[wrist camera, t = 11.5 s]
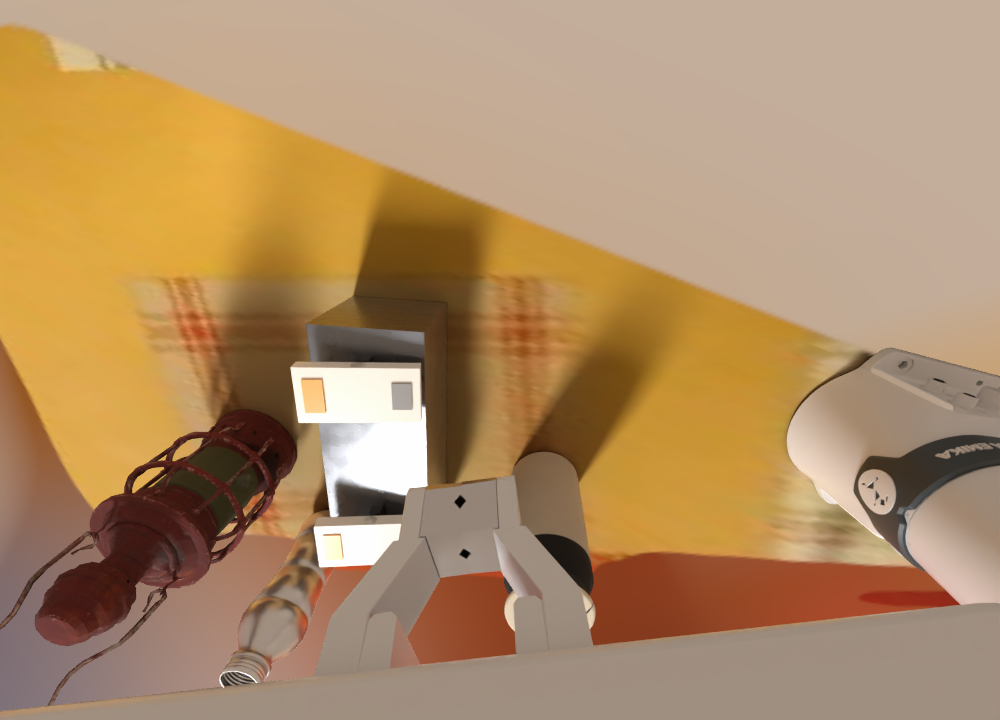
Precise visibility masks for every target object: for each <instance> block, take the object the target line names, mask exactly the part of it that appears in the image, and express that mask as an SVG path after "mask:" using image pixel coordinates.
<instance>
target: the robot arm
mask: <svg viewBox="0 0 1000 720" xmlns="http://www.w3.org/2000/svg"><path fill="white" fill-rule="evenodd" d="M900 362H902V363H901V364H900V365H899V363H900ZM898 365H899V366H898ZM787 448H788V452H789V455H790V458H791V460H792V461H793V463H794V464H795V466H796V467H797V468H798V469H799V470H800V471H801V472H802V473H804V474H805V475H806V476H808V477H809V478H810V479H811V480H812V481H813V482H814V485H815V487H816V490H817V492H818V494H819V495H820V496H821V497H822V498H823V499H824V500H825V501H826V502H828V503H830V504H839V505H840V506H841V507H842V508H844V509H845V510H846V511H847V512H848V513H850V514H851V515H852V516H853V517H854V518H855V519H857V520H858V521H859V522H860V523H861V524H863V525H864V526H865V527H866V528H867V529H869V530H870V531H871V532H872V533H873V534H875V535H876V536H878V537H880V538H883V539H885V540H886V541H887V542H889V545H890V546H891V547H892V548H893V549H894V550H895V551H896V552H897V553H898V554H900V555H901V556H902V557H905V558H906V559H907V560H908V561H909V562H910V563H911V564H913V565H914V566H915V567H917V568H919V569H920V570H923V571H925V572H927V573H929V574H930V575H931V576H932V577H933V578H934V579H935V580H936V581H937V582H938V583H939V584H940V585H941V586H942V587H943V588H944V589H945V590H946V591H947V592H948V593H949V594H950V595H951V596H952V597H953V598H954V599H956V600H957V601H958V602H959V603H960V604H961V605H955V606H947V607H938V608H929V609H920V610H911V611H902V612H893V613H883V614H875V615H865V616H856V617H847V618H838V619H830V620H821V621H812V622H802V623H794V624H786V625H775V626H766V627H758V628H748V629H740V630H730V631H722V632H713V633H704V634H695V635H686V636H678V637H668V638H659V639H650V640H641V641H632V642H623V643H614V644H605V645H596V646H593V643H592V638H591V633H590V628H589V624H588V619H587V614H586V610H585V605H584V600H583V595H582V591H581V588H580V587H579V586H578V585H577V584H576V583H575V582H574V580H573V579H572V578H571V577H570V576H569V575H568V574H567V572H566V571H565V570H564V569H563V568H562V567H561V566H560V565H559V563H558V562H557V561H556V560H555V559H554V558H553V557H552V555H551V554H550V553H549V552H548V551H547V550H546V549H545V547H544V546H543V545H542V544H541V543H540V542H539V541H538V539H537V538H536V537H535V536H534V535H533V534H532V533H531V532H530V530H529V529H528V528H527V527H526V526H522V525H521V517H520V510H519V503H518V495H517V488H516V481H515V476H514V475H513V476H505V477H497V478H496V477H495V478H488V479H480V480H472V481H465V482H462V483H451V484H440V485H430V486H421V487H412V488H409V489H408V491H407V493H406V499H405V505H404V511H403V516H402V522H401V528H400V534H399V540H396V541H393V542H392V543H391V544H390V545H389V547H388V548H387V549H386V550H385V552H384V553H383V554H382V555H381V556H380V558H379V559H378V560H377V561H376V563H375V564H374V565H373V566H372V567H371V569H370V570H369V571H368V572H367V573H366V575H365V576H364V577H363V578H362V580H361V581H360V582H359V583H358V584H357V586H356V587H355V588H354V589H353V591H352V592H351V593H350V594H349V595H348V597H347V598H346V599H345V600H344V601H343V603H342V604H341V605H340V606H339V608H338V609H337V610H336V611H335V613H334V614H333V615H332V616H331V618H330V622H329V625H328V629H327V633H326V636H325V640H324V644H323V647H322V651H321V654H320V658H319V662H318V665H317V669H316V673H315V676H314V677H306V678H297V679H288V680H279V681H270V682H261V683H252V684H243V685H234V686H225V687H216V688H207V689H198V690H189V691H180V692H171V693H162V694H153V695H144V696H135V697H126V698H117V699H108V700H98V701H90V702H80V703H71V704H63V705H53V706H44V707H35V708H26V709H17V710H7V711H0V720H1000V376H997V375H993V374H989V373H986V372H982V371H978V370H974V369H971V368H967V367H963V366H959V365H956V364H951V363H947V362H944V361H940V360H936V359H933V358H929V357H925V356H921V355H918V354H914V353H910V352H906V351H903V350H898V349H895V348H886V349H884V350H881V351H879V352H878V353H876V354H875V355H874V356H872V357H871V358H870V359H869V360H867V361H866V362H865V363H864V364H863V365H862V366H860V367H859V368H857V369H856V370H854V371H851V372H849V373H847V374H844V375H842V376H840V377H837V378H835V379H833V380H831V381H830V382H828V383H826V384H825V385H823V386H821V387H820V388H819V389H817V390H816V391H815V392H814V393H812V394H811V395H810V396H809V397H808V398H807V399H806V400H805V401H804V402H803V403H802V405H801V406H800V407H799V409H798V410H797V412H796V413H795V415H794V417H793V419H792V421H791V423H790V426H789V429H788V434H787ZM492 571H501V572H502V574H503V575H504V577H505V578H506V580H507V581H508V583H509V584H510V586H511V587H512V589H513V590H514V592H515V593H516V595H517V596H518V598H517V599H516V601H515V602H514V603H513V606H514V623H515V638H516V654H514V655H505V656H495V657H487V658H478V659H468V660H459V661H450V662H441V663H432V664H424V665H420V663H419V661H418V659H417V657H416V655H415V653H414V651H413V649H412V647H411V645H410V643H409V641H408V639H407V636H408V634H409V633H410V631H411V629H412V627H413V626H414V624H415V622H416V620H417V619H418V617H419V615H420V614H421V612H422V610H423V608H424V607H425V605H426V603H427V601H428V600H429V598H430V596H431V594H432V593H433V591H434V589H435V587H436V586H437V584H438V582H439V580H440V579H439V578H442V577H448V576H456V575H463V574H470V573H481V572H492Z"/></svg>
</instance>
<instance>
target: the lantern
mask: <svg viewBox="0 0 1000 720" xmlns="http://www.w3.org/2000/svg"><path fill="white" fill-rule="evenodd" d="M195 438H204V439H203V440H202V444H201V446H200V447H199V449H198V450H196V451H195V452H194V453H192V454H191V455H190V456H187V457H184V458H181V459H178V460H177V461H172V458H173V455H174V453H175V451H176V450H177V449H178V448H179V447H180V446H181V445H182V444H184V443H185V442H186V441H187V440H190V439H195ZM166 454H167V457H166V460H165V461H158V460H159V459H161V458H162V457H164V456H165V455H166ZM295 461H296V449H295V445H294V441H293V440H292V438H291V436H290V435H289V433H288V431H287V430H286V429H285V428H284V427H283V426H282V425H281V424H279V423H278V422H277V421H276V420H274V419H273V418H272V417H269V416H267V415H265V414H262V413H260V412H256V411H250V410H237V411H233V412H231V413H228V414H226V415H224V416H223V417H221V418H220V419H219V421H218V422H217V423H216V424H215V426H213V427H211V430H209V431H208V432H192V433H189V434H187V435H185V436H183V437H180V438H179V439H177V440H176V441H175V442H174V444H173V445H172V446H171V447H169V448H168V449H166V450H165V451H164V452H162V453H161V454H159V455H158V456H156V457H155V458H153V459H152V460H151V461H149V462H148V463H146V464H144V465H142V466H139V467H137V468H136V469H135V470H134V471H133V472H132V473H131V474H130V475H129V476H128V478H127V481H126V484H125V487H124V493H123V494H119V495H115V496H111V497H110V498H108V499H106V500H105V501H103V502H101V503H100V504H99V505H98V506H97V508H96V509H95V510H94V511H93V513H92V516H91V519H90V531H91V532H89V531H87V532H86V533H84V534H83V535H82V536H81V537H79V538H78V539H77V540H76V541H74V542H73V543H72V544H71V545H69V546H68V547H67V548H66V549H65V550H63V551H62V552H61V553H60V554H58V555H57V556H56V557H54V558H53V559H52V560H51V561H50V562H48V563H47V564H46V565H45V566H43V567H42V568H41V569H40V570H38V571H37V572H36V573H35V575H34V576H33V577H32V578H31V579H30V580H29V581H28V583H27V585H26V587H25V589H24V590H23V592H22V594H21V596H20V597H19V599H18V601H17V603H16V605H15V606H14V608H13V610H12V612H11V613H10V614H9V615H8V616H7V617H6V619H5V620H4V621H3V622H2V623H1V624H0V629H2V628H3V627H4V626H5V625H6V624H7V623H8V622H9V621H10V620H11V619H12V618H13V617H14V616H15V615H16V613H17V611H18V610H19V608H20V606H21V604H22V603H23V601H24V599H25V597H26V596H27V594H28V592H29V590H30V589H31V587H32V585H33V583H34V582H35V581H36V580H37V579H38V578H39V577H40V576H41V575H42V574H43V573H44V572H45V571H46V570H47V569H48V568H49V567H50V566H52V565H53V564H54V563H55V562H57V561H58V560H59V559H61V558H62V557H63V556H64V555H66V554H67V553H68V552H69V551H71V550H72V549H73V548H74V547H76V546H77V545H78V544H79V543H81V541H83V540H84V538H85V537H87V536H89V535H91V536H92V538H93V540H94V544H91V545H88V546H86V547H83V548H80V549H78V550H76V551H74V552H72V553H71V554H74V553H76V552H78V551H79V550H84V549H90V548H93V547H94V546H95V545H96V546H97V548H98V549H99V550H100V552H101V553H102V555H103V556H104V557H105V559H104V560H103V561H101V562H100V563H96V562H90V563H85V564H81V565H79V566H78V567H77V568H75V569H71V570H69V571H66V572H64V573H62V574H61V575H59V576H58V578H57V579H56V581H55V582H54V585H53V586H52V587H51V588H50V589H49V590H48V591H47V592H46V593H45V596H44V600H43V606H42V607H41V608H40V610H39V611H38V613H37V614H36V615H35V627H36V630H37V631H38V632H39V633H40V634H41V635H42V636H43V638H45V639H46V640H48V641H50V642H51V643H54V644H58V645H63V646H70V645H74V644H78V643H81V642H84V641H86V640H88V639H89V638H91V637H92V636H97V635H99V634H101V633H103V632H106V631H107V630H109V629H110V628H112V627H113V626H114V625H115V624H116V623H120V622H122V621H123V620H124V619H125V618H126V617H127V615H128V613H129V611H130V609H131V605H132V604H133V603H134V601H135V600H136V587H135V585H136V584H137V583H138V582H142V583H144V584H146V585H150V586H156V587H161V588H163V589H157V590H155V591H153V592H151V593H150V595H149V597H148V602H147V606H146V607H145V609H144V610H143V612H145V611H146V609H147V607H148V606H149V603H150V601H151V599H152V597H153V595H154V593H158V592H161V593H160V595H161V594H163V595H162V597H161V599H160V600H159V601H158V602H156V603H155V604H154V605H153V606H152V607H151V608H150V609H149V611H148V612H147V613H146V614H145V615H144V616H143V617H142V618H141V619H140V620H139V622H138V623H137V624H136V625H135V626H134V627H133V628H132V629H131V630H130V631H129V632H128V633H127V634H126V635H125V636H124V637H123V638H122V639H121V640H120V641H119V642H118V643H116V644H114V645H113V646H111V647H109V648H107V649H105V650H103V651H101V652H99V653H97V654H96V655H94V656H92V657H90V658H88V659H86V660H84V661H82V662H81V663H80V664H78V665H77V666H76V667H75V668H73V669H72V670H71V671H70V672H69V673H68V674H67V675H66V676H65V678H64V679H63V680H62V681H61V683H60V684H59V685H58V687H57V689H56V690H55V692H54V694H53V696H52V698H51V700H50V702H49V704H48V706H53V703H54V701H55V699H56V697H57V695H58V693H59V691H60V689H61V688H62V686H63V685H64V684H65V682H66V681H67V680H68V678H69V677H70V676H71V675H72V674H73V673H75V672H76V671H77V670H78V669H80V668H81V667H82V666H83V665H85V664H87V663H89V662H91V661H92V660H94V659H96V658H98V657H100V656H102V655H104V654H105V653H107V652H109V651H111V650H113V649H114V648H116V647H118V646H120V645H121V644H122V643H124V642H125V641H126V640H127V639H129V638H130V637H131V636H132V635H133V634H134V633H135V632H136V631H137V630H138V628H139V627H140V626H141V625H142V624H143V623H144V622H145V621H146V620H147V618H148V617H149V616H150V615H151V614H152V613H153V612H154V611H155V610H156V609H157V608H158V606H159V605H160V604H161V603H162V602H163V601H164V600H165V599H166V598H167V594H166V588H182V587H185V586H188V585H192V584H195V583H196V582H197V581H198V580H199V579H200V578H202V577H203V576H204V575H205V574H206V573H207V571H208V570H209V567H210V564H213V563H216V562H219V561H221V560H222V559H223V558H224V557H225V556H226V555H227V554H229V553H230V552H231V551H233V550H234V548H235V547H237V546H238V544H239V543H240V542H241V540H242V538H243V535H244V532H245V531H246V530H247V528H248V527H249V526H250V525H251V524H252V523H253V522H254V521H255V520H257V519H258V518H259V517H261V516H262V514H263V513H264V512H266V511H267V509H268V508H269V507H270V505H271V502H272V500H273V496H274V494H275V489H276V488H277V486H278V484H279V483H280V480H281V479H283V478H285V477H286V476H287V475H288V474H289V473H290V472H291V470H292V468H293V466H294V464H295ZM156 467H164V470H162V471H161V473H159V474H158V475H157V476H156V477H154V478H153V479H152V480H150V481H149V482H148V483H147V484H145V485H144V486H143V487H141V488H140V489H139V490H138V491H136V492H135V493H132V487H133V484H134V481H135V480H136V478H137V477H138V476H140V475H141V474H143V473H144V472H145V471H146V470H148V469H151V468H156ZM165 474H167V475H166V476H164V475H165ZM162 476H164V477H163V478H162V479H161V480H160V481H158V482H157V483H156V484H155V485H153V486H152V487H149V486H150V485H152V484H153V483H154V482H156V481H157V480H158V479H160V478H161V477H162ZM148 487H149V488H148ZM263 491H264V496H263V497H262V498H261V499H260V500H259V502H258V503H257V504H256V505H255V506H254V507H253V509H252V510H251V511H250V512H249V513H248V514H247V516H246V517H244V513H243V510H242V509H243V508H244V507H245V506H246V505H247V504H248V502H249V501H250V500H251V498H252V497H253V496H254V495H257V494H259V493H261V492H263ZM266 498H267V500H266ZM262 503H263V504H262ZM261 504H262V506H261V507H260V509H258V507H259V506H260V505H261ZM257 509H258V510H257ZM256 510H257V512H256V513H254V512H255V511H256ZM253 513H254V514H253ZM236 516H237V518H235V517H236ZM247 522H248V524H247V525H246V523H247ZM229 523H238V524H237V525H236V526H235V528H234V529H233V531H232V532H230V533H228V534H225V535H222V536H218V537H216V536H217V535H218V534H219V533H220V532H221V531H222V530H223V529H224V528H225V527H226V526H227V525H228V524H229ZM237 533H238V534H237ZM235 534H237V536H236V538H235V539H234V540H233V541H232V542H231V543H230V544H228V545H227V547H225V548H224V549H221V550H219V551H217V552H211V550H212V548H213V547H214V545H215V543H216V541H219V540H222V539H226V538H229V537H231V536H233V535H235ZM216 557H218V558H216ZM212 558H216V559H214V560H212Z"/></svg>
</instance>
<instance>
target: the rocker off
mask: <svg viewBox="0 0 1000 720" xmlns="http://www.w3.org/2000/svg"><path fill="white" fill-rule="evenodd" d="M402 516H403V515H381V516H351V517H321V518H317V520H316V523H315V525H314V533H315V539H316V546H317V553H318V560H319V566H320V567H334V566H356V565H374V564H375V563H376V561H377V560H378V559H379V558H380V556H381V555H382V554H383V553H384V552H385V550H386V549H387V548H388V547H389V545H390V544H391V543H392V542H393V541H396V540H399V534H400V528H401V522H402Z"/></svg>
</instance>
